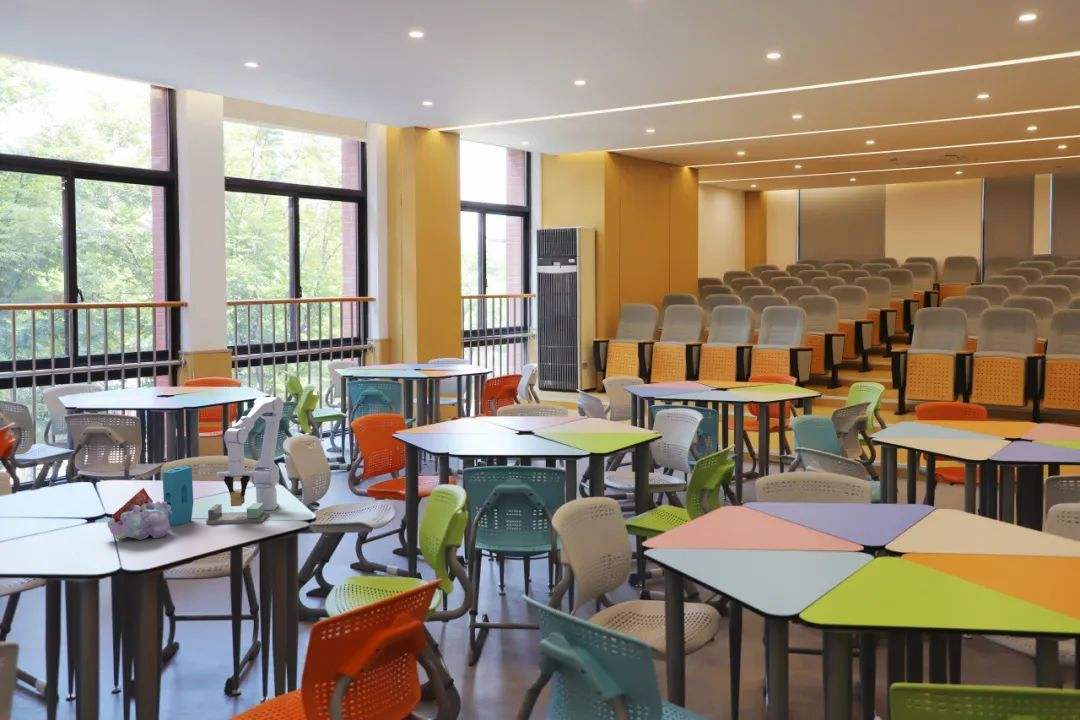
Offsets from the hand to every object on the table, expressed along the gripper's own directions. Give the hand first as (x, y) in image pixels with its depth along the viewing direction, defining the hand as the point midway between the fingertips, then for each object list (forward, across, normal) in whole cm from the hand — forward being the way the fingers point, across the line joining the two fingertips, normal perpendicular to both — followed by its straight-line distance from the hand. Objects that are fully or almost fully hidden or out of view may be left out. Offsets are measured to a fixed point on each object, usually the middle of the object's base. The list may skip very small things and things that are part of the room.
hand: (237, 496), depth 346 cm
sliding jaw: (+7, +6, 0) cm, 10 cm away
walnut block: (+3, 0, 0) cm, 3 cm away
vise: (+9, 0, 0) cm, 9 cm away
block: (+9, -21, -2) cm, 23 cm away
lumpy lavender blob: (+9, -28, -22) cm, 37 cm away
